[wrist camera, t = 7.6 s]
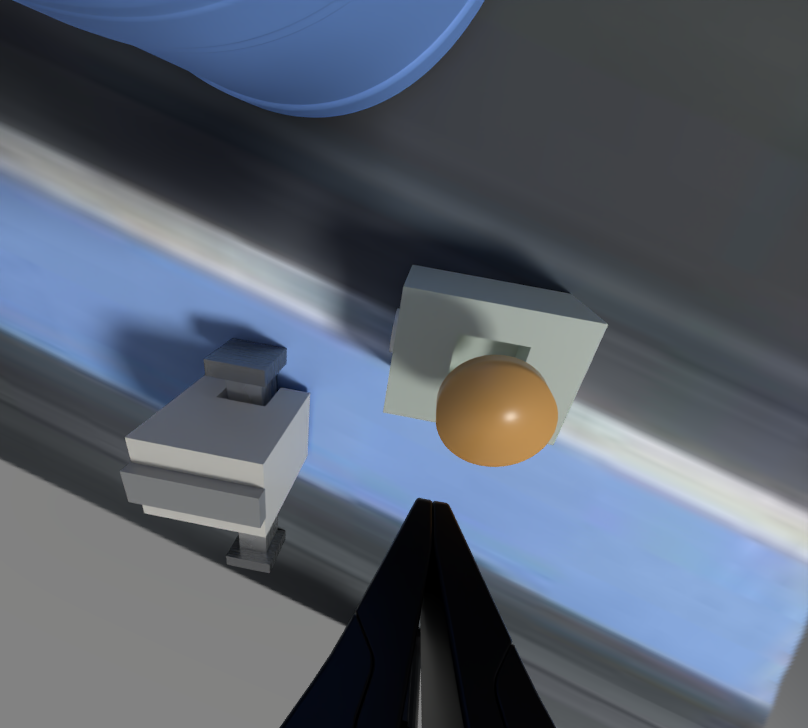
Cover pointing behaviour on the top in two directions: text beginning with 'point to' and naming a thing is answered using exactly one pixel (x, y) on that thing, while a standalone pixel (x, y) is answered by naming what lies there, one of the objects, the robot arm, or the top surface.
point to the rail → (256, 384)
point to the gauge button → (495, 411)
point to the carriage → (218, 457)
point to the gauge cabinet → (485, 336)
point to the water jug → (284, 44)
